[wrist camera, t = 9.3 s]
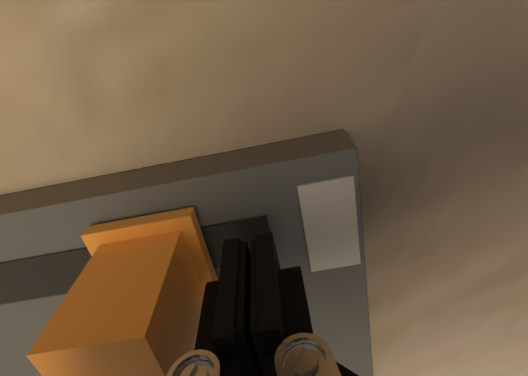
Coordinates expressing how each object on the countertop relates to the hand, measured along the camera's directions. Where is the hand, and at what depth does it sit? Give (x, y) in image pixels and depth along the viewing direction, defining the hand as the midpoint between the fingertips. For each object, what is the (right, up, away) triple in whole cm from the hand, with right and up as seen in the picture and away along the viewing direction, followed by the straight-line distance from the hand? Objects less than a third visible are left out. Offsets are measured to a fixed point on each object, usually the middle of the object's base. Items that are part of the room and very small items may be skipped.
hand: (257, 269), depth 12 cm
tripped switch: (-4, 0, +1) cm, 4 cm away
